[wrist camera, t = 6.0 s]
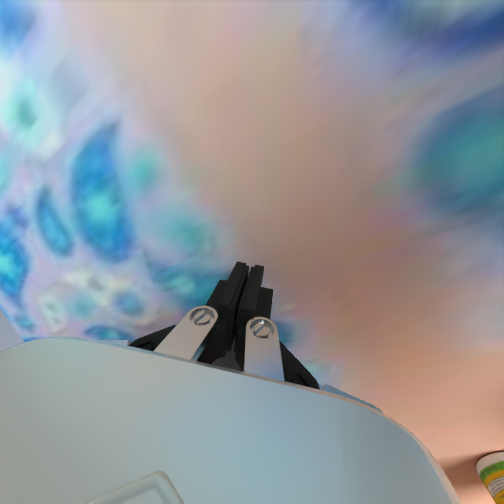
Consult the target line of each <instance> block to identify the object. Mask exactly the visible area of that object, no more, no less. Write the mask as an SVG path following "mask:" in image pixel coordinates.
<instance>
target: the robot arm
mask: <svg viewBox="0 0 504 504" xmlns="http://www.w3.org/2000/svg"><path fill="white" fill-rule="evenodd" d="M263 271H264V266H260V265H255V267H251V270H250V273H249V276H248V272H249V266H246V263H243V262H237V263H236V265H235V267H234V269H233V271H232V273H231V275H230V277H229V279H228V281H225V280H220V281H219V282H218V284H217V286H216V288H215V290H214V291H213V293H212V295H211V297H210V299H209V301H208V302H207V304H206V306H198V307H195V308H193V309H191V310H190V311H189V312H188V313H187V314H186V315H185V316H184V317H183V319H182V320H181V321H180V322H179V323H178V324H176V325H173V326H171V327H168V328H165V329H163V330H160V331H157V332H155V333H152V334H149V335H147V336H144V337H141V338H139V339H137V340H135V341H134V342H132V343H130V341H129V340H94V339H88V338H78V337H51V338H42V339H36V340H31V341H27V342H23V343H20V344H17V345H14V346H12V347H10V348H8V349H6V350H4V351H2V352H0V504H462V502H461V500H460V498H459V496H458V495H457V493H456V491H455V490H454V488H453V486H452V484H451V483H450V481H449V479H448V478H447V476H446V474H445V473H444V471H443V469H442V468H441V466H440V465H439V463H438V462H437V460H436V459H435V458H434V456H433V455H432V453H431V452H430V451H429V450H428V449H427V447H426V446H425V445H424V444H423V443H422V442H421V441H420V440H419V439H418V438H417V437H416V436H415V435H414V434H413V433H411V432H410V431H409V430H408V429H406V428H405V427H404V426H402V425H401V424H399V423H398V422H397V421H395V420H393V419H392V418H390V417H388V416H387V415H385V414H384V413H383V412H382V411H381V410H380V409H378V408H377V407H375V406H373V405H372V404H369V403H367V402H365V401H363V400H360V399H358V398H356V397H354V396H351V395H349V394H347V393H345V392H343V391H340V390H338V389H336V388H334V387H331V386H329V385H327V384H325V385H324V386H323V385H320V384H318V383H317V381H316V379H315V378H314V377H313V376H312V375H311V373H310V372H309V371H308V370H307V369H306V368H305V367H304V366H303V365H302V364H301V363H300V362H299V361H298V360H297V359H296V358H295V357H294V355H293V354H292V353H291V352H290V351H289V350H288V349H287V348H286V347H285V346H284V345H283V344H282V343H281V342H280V341H279V336H278V329H277V326H276V325H275V323H274V322H273V321H271V320H270V314H271V305H272V296H273V289H268V288H263V287H261V284H262V278H263ZM234 339H235V343H234V353H236V355H235V360H236V362H237V363H238V365H239V366H240V368H241V370H240V371H238V370H234V369H229V368H225V367H221V366H216V365H215V363H216V360H217V359H219V358H221V357H223V358H225V356H226V353H227V351H228V352H231V349H232V346H233V342H234Z"/></svg>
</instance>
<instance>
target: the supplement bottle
mask: <svg viewBox="0 0 504 504" xmlns="http://www.w3.org/2000/svg"><path fill="white" fill-rule="evenodd" d="M476 470H477V473H478V474H479V476H480V478H481V480H482V481H483V483H484V485H485V486H486V488H487V490H488V491H489V493H490V495H491V496H492V498H493V500H494V501H495V503H496V504H504V452H498V453H492V454H489V455H486V456H485V457H483V458H481V459H480V460H479V461H478V463H477V465H476Z"/></svg>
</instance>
